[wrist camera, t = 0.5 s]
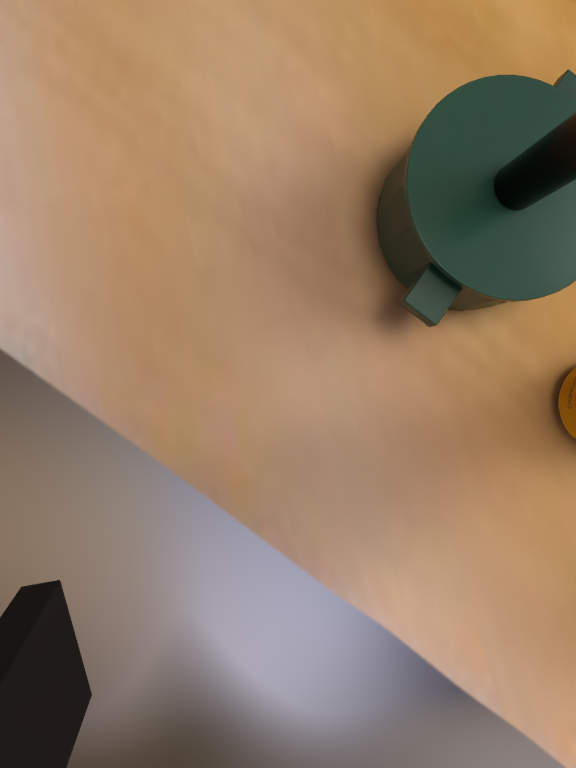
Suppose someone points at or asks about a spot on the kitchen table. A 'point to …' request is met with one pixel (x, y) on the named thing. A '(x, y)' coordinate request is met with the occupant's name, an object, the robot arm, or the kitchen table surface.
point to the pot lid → (497, 187)
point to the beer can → (568, 403)
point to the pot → (408, 259)
